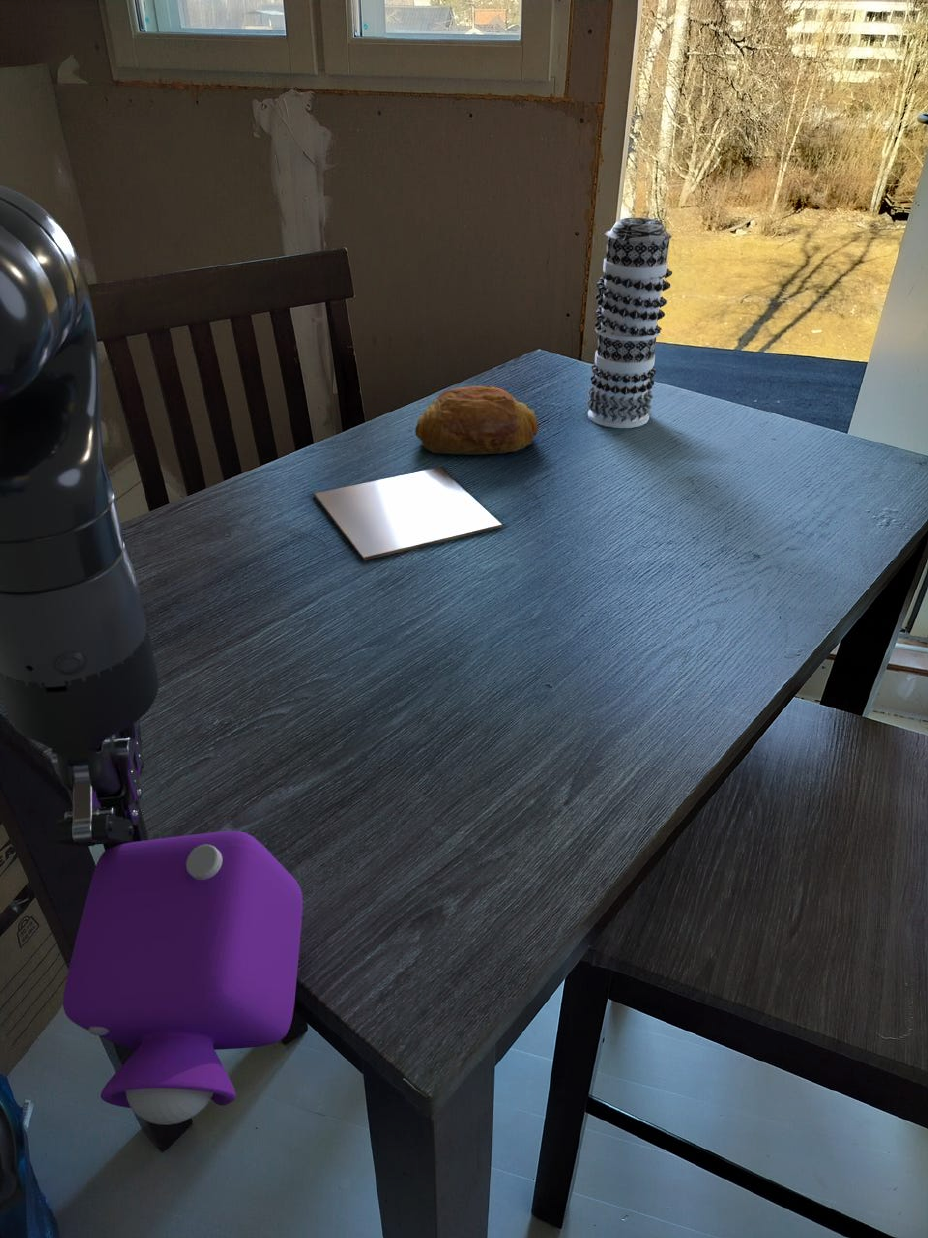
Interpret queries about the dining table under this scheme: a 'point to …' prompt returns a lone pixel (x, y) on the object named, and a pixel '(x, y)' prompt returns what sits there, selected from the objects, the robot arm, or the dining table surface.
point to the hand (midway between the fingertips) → (129, 854)
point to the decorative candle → (628, 322)
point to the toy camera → (185, 965)
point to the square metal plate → (405, 513)
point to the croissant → (476, 422)
